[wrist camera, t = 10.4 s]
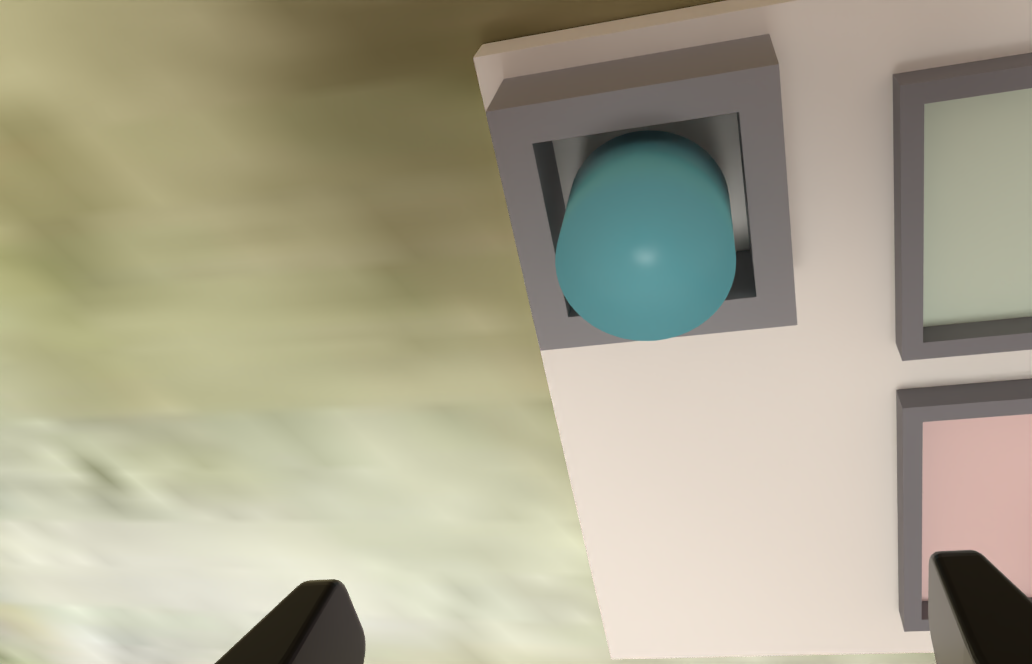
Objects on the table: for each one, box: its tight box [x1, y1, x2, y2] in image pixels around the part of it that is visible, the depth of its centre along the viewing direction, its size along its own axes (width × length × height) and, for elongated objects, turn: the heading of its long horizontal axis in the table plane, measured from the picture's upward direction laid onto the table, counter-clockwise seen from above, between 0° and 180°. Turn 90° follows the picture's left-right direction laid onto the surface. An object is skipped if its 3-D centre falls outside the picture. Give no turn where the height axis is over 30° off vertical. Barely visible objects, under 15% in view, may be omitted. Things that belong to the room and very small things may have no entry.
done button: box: [555, 130, 736, 341], centre depth 17 cm, size 3×3×2 cm
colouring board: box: [473, 0, 1032, 659], centre depth 20 cm, size 17×17×3 cm
